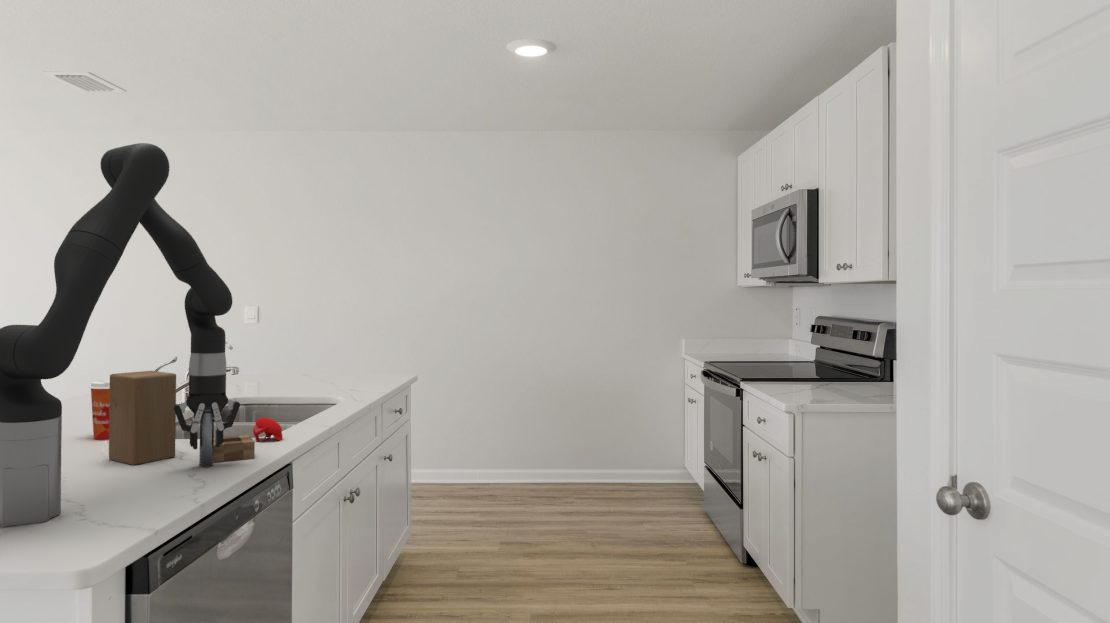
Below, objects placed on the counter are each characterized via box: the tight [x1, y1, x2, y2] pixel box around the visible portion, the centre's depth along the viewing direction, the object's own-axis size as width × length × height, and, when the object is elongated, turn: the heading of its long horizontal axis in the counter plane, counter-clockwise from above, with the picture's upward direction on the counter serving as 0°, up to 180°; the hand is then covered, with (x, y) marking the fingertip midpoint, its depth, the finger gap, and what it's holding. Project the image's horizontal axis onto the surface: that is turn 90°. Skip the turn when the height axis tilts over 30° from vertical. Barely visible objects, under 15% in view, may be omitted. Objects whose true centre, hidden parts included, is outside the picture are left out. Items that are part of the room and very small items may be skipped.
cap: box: [252, 417, 283, 442], centre depth 180 cm, size 8×6×6 cm
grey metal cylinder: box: [198, 405, 215, 468], centre depth 152 cm, size 3×3×14 cm
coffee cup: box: [89, 379, 110, 441], centre depth 177 cm, size 8×8×15 cm
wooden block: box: [108, 370, 177, 466], centre depth 157 cm, size 10×10×20 cm
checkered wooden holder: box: [213, 434, 256, 463], centre depth 161 cm, size 9×9×4 cm
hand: (206, 447), depth 152 cm, fingers open, 4 cm apart
